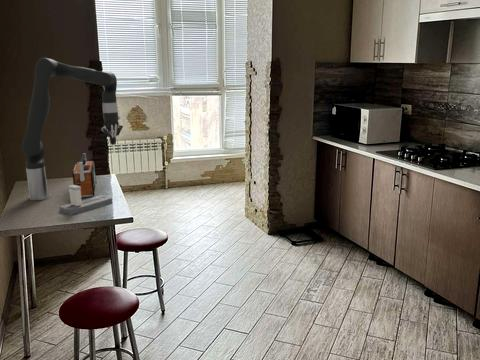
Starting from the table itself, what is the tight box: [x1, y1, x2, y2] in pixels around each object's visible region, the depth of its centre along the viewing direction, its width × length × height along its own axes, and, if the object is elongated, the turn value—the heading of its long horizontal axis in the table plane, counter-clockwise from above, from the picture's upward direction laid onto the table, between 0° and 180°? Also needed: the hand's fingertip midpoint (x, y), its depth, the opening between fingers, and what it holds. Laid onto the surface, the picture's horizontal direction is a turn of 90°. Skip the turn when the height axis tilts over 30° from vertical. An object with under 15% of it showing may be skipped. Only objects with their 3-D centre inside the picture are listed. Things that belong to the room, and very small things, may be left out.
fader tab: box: [68, 184, 83, 206], centre depth 225 cm, size 3×6×9 cm, turn 52°
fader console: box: [59, 194, 113, 216], centre depth 231 cm, size 24×10×3 cm, turn 142°
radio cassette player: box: [72, 152, 97, 198], centre depth 257 cm, size 29×10×20 cm, turn 15°
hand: (113, 144), depth 241 cm, fingers closed
